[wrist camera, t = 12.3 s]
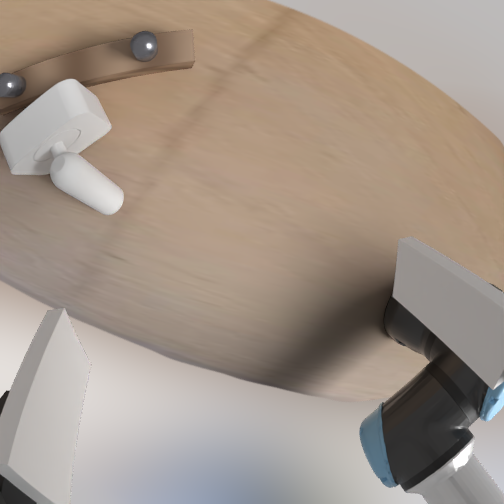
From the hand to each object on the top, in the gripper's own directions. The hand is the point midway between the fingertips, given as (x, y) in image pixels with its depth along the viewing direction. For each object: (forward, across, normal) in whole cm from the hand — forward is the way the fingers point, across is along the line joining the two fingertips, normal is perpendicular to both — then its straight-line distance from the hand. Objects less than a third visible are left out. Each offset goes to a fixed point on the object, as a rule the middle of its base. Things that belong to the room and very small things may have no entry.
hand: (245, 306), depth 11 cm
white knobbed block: (+22, +10, -5) cm, 25 cm away
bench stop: (+21, +9, -14) cm, 27 cm away
